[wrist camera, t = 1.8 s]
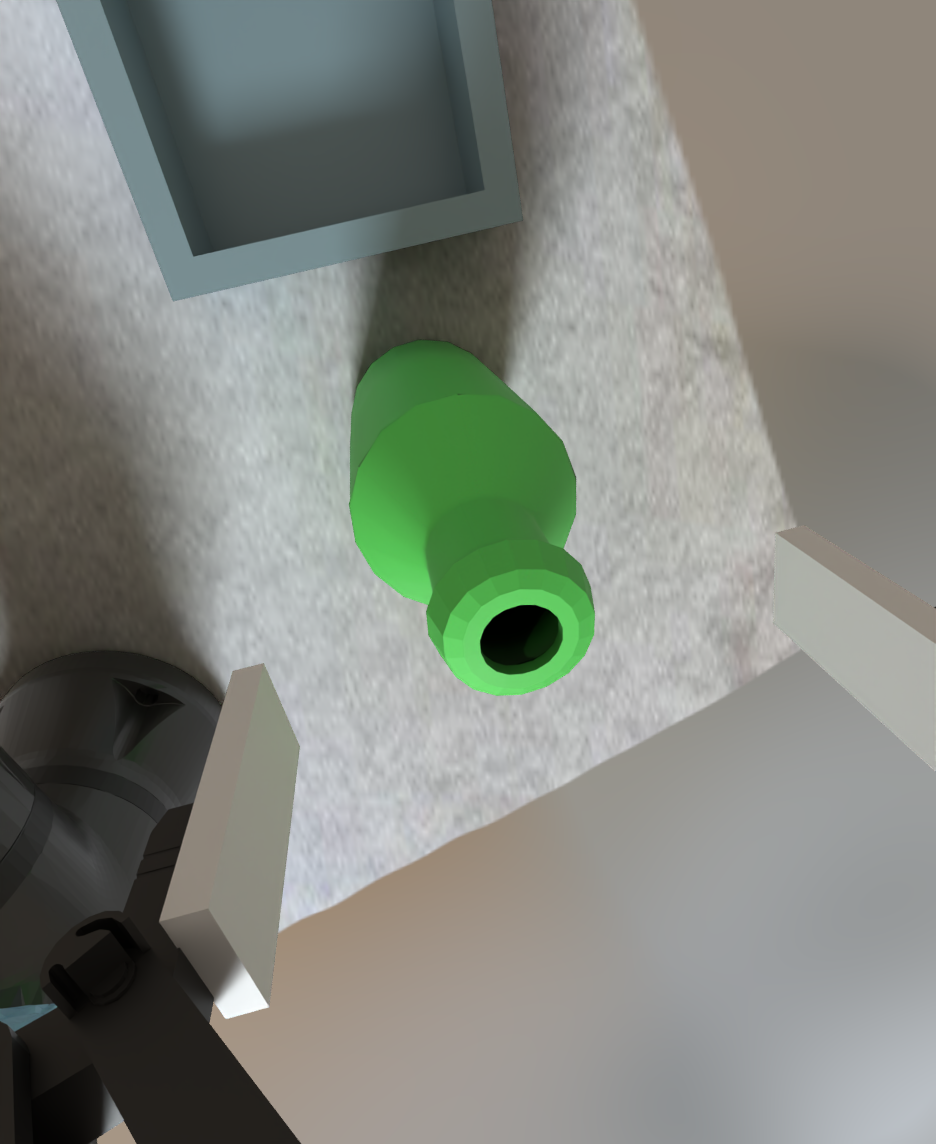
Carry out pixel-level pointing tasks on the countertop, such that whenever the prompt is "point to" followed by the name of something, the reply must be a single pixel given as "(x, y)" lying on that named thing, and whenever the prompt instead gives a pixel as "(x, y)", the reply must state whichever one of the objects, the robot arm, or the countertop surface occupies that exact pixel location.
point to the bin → (299, 128)
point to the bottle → (470, 516)
